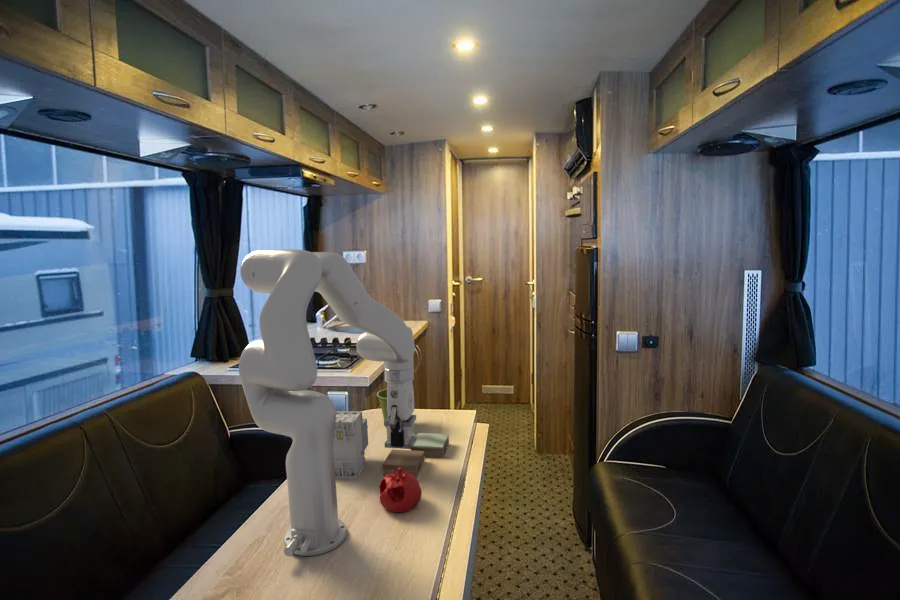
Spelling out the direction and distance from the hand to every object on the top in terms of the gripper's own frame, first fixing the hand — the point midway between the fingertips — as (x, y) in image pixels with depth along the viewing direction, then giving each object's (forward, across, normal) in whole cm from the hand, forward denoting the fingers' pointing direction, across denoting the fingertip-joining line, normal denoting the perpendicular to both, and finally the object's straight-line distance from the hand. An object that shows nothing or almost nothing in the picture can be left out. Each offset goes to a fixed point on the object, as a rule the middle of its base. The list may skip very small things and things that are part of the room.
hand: (400, 440), depth 139 cm
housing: (+1, 0, 0) cm, 1 cm away
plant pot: (+7, +29, +10) cm, 32 cm away
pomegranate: (+9, -17, -4) cm, 20 cm away
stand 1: (+8, +1, 0) cm, 8 cm away
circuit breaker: (+8, +1, +15) cm, 17 cm away
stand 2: (+7, +13, -5) cm, 16 cm away
